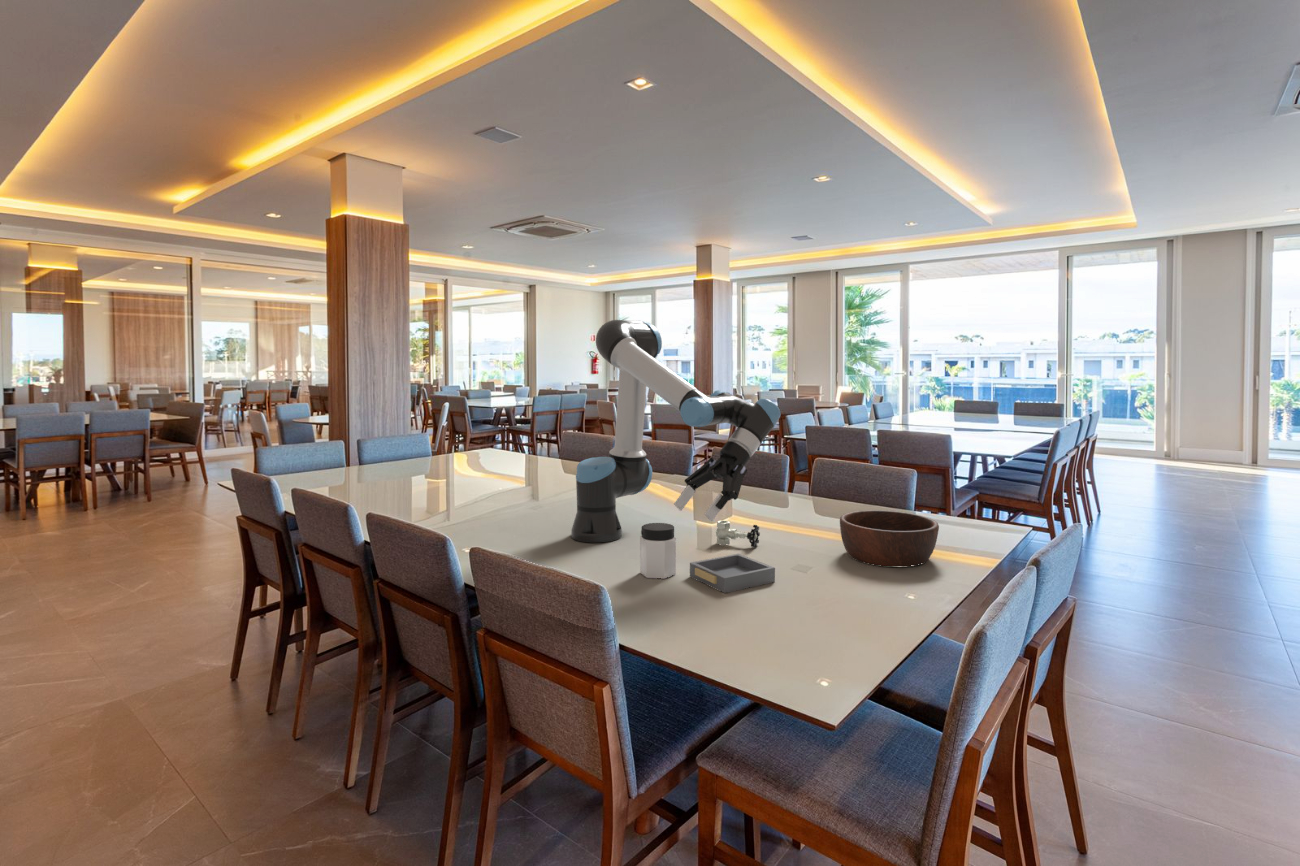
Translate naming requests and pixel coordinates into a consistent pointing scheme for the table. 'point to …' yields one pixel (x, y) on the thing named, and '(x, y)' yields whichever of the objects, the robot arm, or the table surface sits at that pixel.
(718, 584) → the tray
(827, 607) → the table surface
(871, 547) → the wooden bowl
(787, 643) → the table surface
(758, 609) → the table surface
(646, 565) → the jar
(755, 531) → the valve
